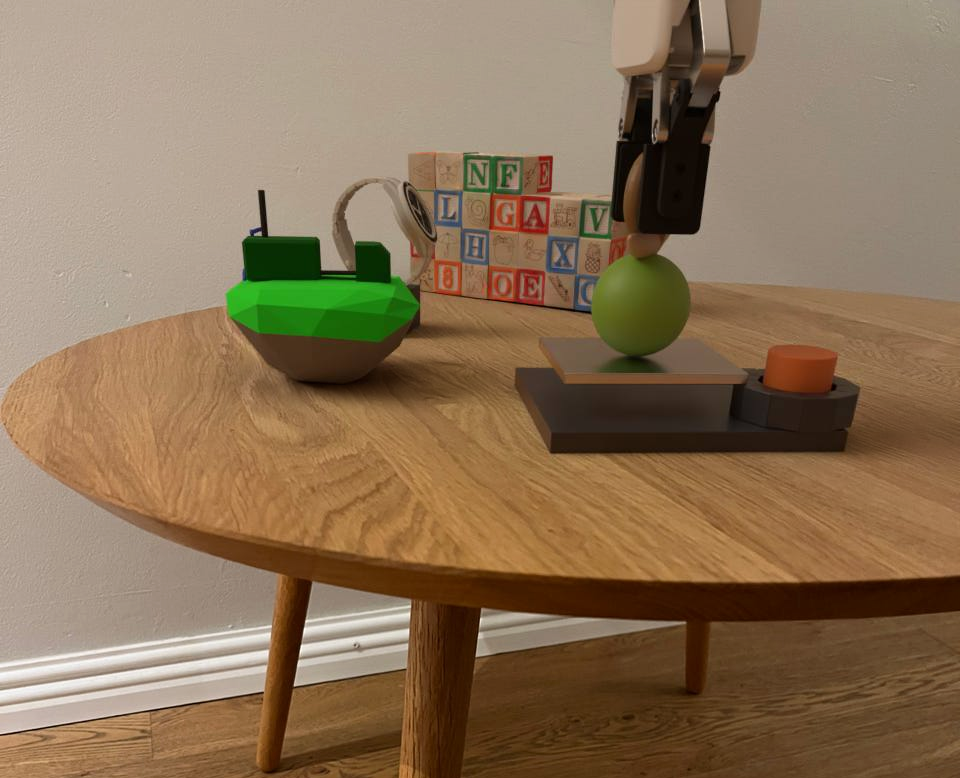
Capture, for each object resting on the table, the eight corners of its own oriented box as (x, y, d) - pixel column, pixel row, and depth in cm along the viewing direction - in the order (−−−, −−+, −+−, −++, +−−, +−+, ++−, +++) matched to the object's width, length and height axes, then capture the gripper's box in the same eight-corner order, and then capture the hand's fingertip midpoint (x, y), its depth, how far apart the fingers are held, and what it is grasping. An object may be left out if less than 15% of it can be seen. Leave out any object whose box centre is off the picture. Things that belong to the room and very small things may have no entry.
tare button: (813, 381, 53) (821, 344, 52) (841, 398, 49) (849, 359, 48) (752, 381, 52) (758, 344, 51) (776, 398, 49) (783, 359, 48)
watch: (426, 339, 72) (426, 181, 66) (328, 332, 73) (320, 177, 68) (443, 325, 77) (444, 177, 71) (350, 319, 78) (344, 173, 73)
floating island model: (222, 401, 55) (198, 197, 50) (247, 356, 65) (231, 183, 60) (423, 402, 56) (422, 202, 51) (418, 358, 66) (417, 187, 61)
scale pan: (696, 348, 58) (698, 338, 57) (747, 384, 50) (749, 373, 50) (538, 347, 57) (538, 337, 56) (564, 384, 49) (565, 373, 49)
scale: (769, 386, 62) (778, 340, 60) (868, 454, 50) (881, 398, 48) (514, 386, 60) (516, 338, 59) (550, 456, 48) (554, 398, 46)
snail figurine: (702, 349, 54) (736, 114, 48) (663, 371, 49) (694, 113, 43) (616, 337, 57) (638, 111, 51) (571, 357, 52) (589, 110, 46)
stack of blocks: (632, 305, 87) (647, 158, 81) (604, 315, 83) (617, 160, 76) (442, 281, 97) (443, 148, 91) (408, 289, 92) (406, 149, 86)
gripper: (871, -289, 34) (779, 249, 43) (719, -167, 48) (675, 213, 57) (671, -304, 33) (620, 246, 42) (579, -176, 48) (556, 211, 57)
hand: (652, 223), depth 50 cm, fingers closed on snail figurine, 5 cm apart
